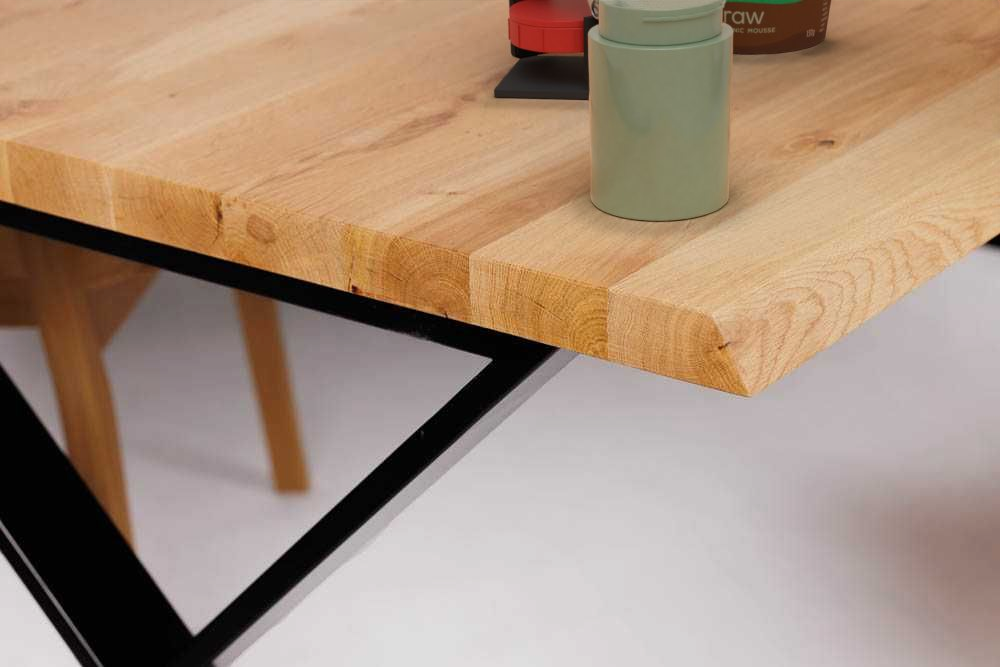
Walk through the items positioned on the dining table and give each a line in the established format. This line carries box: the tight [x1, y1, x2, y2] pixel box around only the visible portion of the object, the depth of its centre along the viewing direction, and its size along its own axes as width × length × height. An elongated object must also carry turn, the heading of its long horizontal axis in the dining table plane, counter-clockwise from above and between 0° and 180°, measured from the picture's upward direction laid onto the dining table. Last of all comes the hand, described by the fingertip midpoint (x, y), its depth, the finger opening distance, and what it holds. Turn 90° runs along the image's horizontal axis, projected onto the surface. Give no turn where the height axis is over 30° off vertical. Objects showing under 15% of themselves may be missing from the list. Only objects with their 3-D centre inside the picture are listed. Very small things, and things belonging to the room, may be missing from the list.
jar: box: [588, 0, 734, 222], centre depth 67 cm, size 7×7×10 cm
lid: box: [507, 0, 592, 54], centre depth 87 cm, size 7×7×2 cm
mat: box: [493, 55, 589, 100], centre depth 88 cm, size 8×8×1 cm
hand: (570, 65), depth 88 cm, fingers closed on lid, 7 cm apart
